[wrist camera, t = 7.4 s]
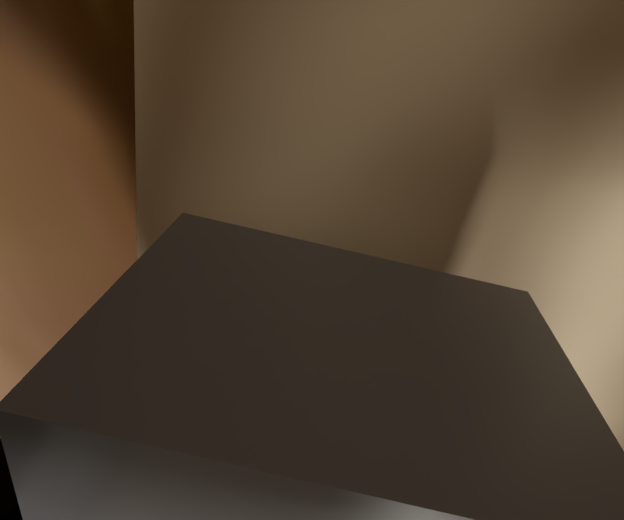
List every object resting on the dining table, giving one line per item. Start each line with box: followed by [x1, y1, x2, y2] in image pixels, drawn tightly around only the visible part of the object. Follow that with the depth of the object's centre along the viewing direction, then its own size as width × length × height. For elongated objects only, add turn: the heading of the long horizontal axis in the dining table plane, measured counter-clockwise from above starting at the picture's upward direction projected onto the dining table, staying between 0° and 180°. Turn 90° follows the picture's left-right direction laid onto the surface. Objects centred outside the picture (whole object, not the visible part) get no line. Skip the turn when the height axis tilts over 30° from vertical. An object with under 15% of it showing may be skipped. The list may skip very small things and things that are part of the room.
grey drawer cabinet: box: [0, 213, 624, 520], centre depth 7 cm, size 6×6×5 cm
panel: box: [134, 0, 624, 451], centre depth 8 cm, size 18×20×1 cm
